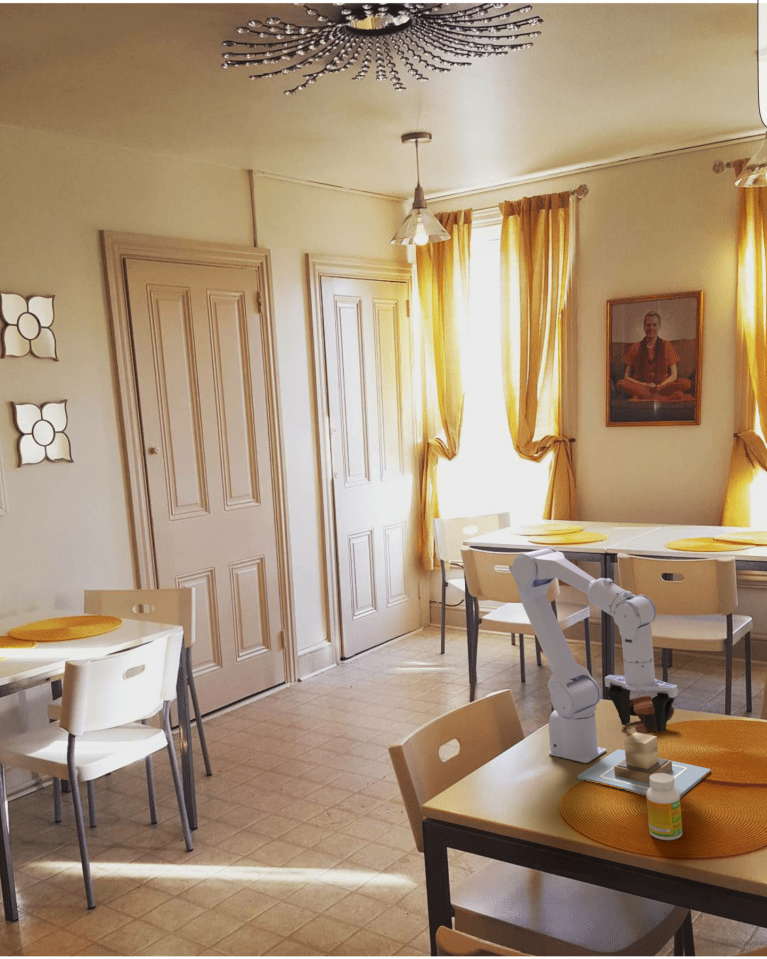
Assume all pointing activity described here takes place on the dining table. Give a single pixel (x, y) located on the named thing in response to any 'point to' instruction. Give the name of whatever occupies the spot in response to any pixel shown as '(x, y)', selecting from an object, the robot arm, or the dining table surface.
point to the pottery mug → (645, 714)
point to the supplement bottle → (664, 807)
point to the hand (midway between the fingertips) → (643, 727)
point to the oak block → (641, 750)
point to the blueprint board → (620, 755)
